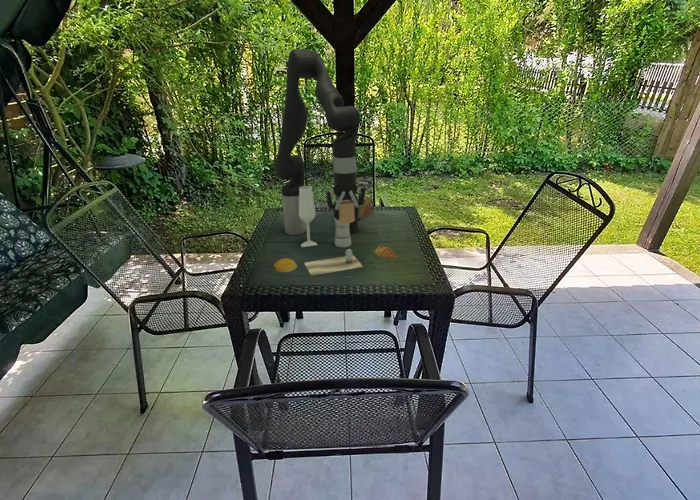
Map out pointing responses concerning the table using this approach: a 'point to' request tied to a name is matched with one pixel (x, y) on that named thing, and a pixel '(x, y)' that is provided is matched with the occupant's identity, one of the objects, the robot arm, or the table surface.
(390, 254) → the pastry
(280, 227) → the table surface
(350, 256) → the post
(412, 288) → the table surface
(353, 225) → the vinegar
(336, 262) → the board
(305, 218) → the champagne flute
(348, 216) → the cap
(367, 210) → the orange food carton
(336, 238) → the plastic bottle
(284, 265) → the bread roll
